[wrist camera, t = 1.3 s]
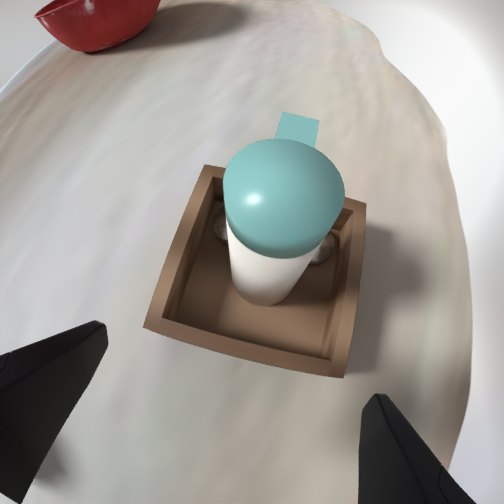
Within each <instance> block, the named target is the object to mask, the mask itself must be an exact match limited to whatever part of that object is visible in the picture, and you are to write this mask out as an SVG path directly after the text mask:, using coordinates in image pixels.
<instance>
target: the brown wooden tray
mask: <svg viewBox="0 0 504 504" xmlns="http://www.w3.org/2000/svg"><path fill="white" fill-rule="evenodd" d="M225 170H226V168H222V167H216V166H211V165H206V164H205V165H204V167H203V169H202V171H201V174H200V176H199V178H198V181H197V183H196V185H195V187H194V190H193V192H192V194H191V197H190V199H189V202H188V204H187V206H186V209H185V211H184V214H183V216H182V219H181V221H180V224H179V226H178V229H177V231H176V234H175V236H174V239H173V242H172V244H171V247H170V249H169V252H168V255H167V257H166V260H165V263H164V266H163V268H162V271H161V274H160V277H159V280H158V283H157V285H156V288H155V291H154V294H153V297H152V300H151V303H150V306H149V309H148V312H147V316H146V319H145V322H144V325H143V328H146V329H148V330H151V331H153V332H156V333H158V334H161V335H164V336H167V337H170V338H173V339H176V340H179V341H182V342H185V343H189V344H192V345H195V346H198V347H202V348H205V349H209V350H212V351H216V352H219V353H223V354H226V355H230V356H234V357H238V358H242V359H246V360H250V361H254V362H258V363H262V364H266V365H271V366H275V367H280V368H285V369H289V370H294V371H299V372H305V373H310V374H315V375H321V376H328V377H336V378H344V373H345V369H346V364H347V359H348V354H349V349H350V344H351V338H352V333H353V327H354V321H355V315H356V308H357V301H358V294H359V286H360V278H361V269H362V259H363V249H364V236H365V222H366V203H363V202H360V201H356V200H353V199H350V198H346V197H345V199H344V204H343V207H342V210H341V212H340V214H339V216H338V217H337V219H336V221H335V222H334V224H333V226H332V227H331V229H330V230H329V231H330V232H331V234H332V236H333V238H334V242H335V246H334V250H333V252H332V254H331V255H330V257H329V258H328V259H327V260H326V261H325V262H324V263H323V264H321V265H318V266H309V265H307V267H306V269H305V270H304V272H303V273H302V275H301V276H300V278H299V279H298V281H297V282H296V284H295V285H294V287H293V288H292V290H291V291H290V293H289V294H288V296H287V297H286V298H285V299H284V300H282V301H281V302H279V303H277V304H274V305H271V306H256V305H253V304H251V303H248V302H247V301H245V300H244V299H243V298H241V296H240V295H239V294H238V293H237V291H236V290H235V288H234V285H233V281H232V272H231V263H230V253H229V246H226V245H224V244H222V243H221V242H219V241H218V240H217V238H216V236H215V234H214V229H213V223H212V222H213V217H214V215H215V213H216V212H217V211H218V210H219V209H220V208H222V207H224V206H225V202H224V190H223V178H224V173H225Z"/></svg>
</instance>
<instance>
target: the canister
mask: <svg viewBox="0 0 504 504" xmlns="http://www.w3.org/2000/svg"><path fill="white" fill-rule="evenodd" d="M318 125H319V120H315V119H311V118H307V117H303V116H299V115H295V114H290V113H286V112H282V116H281V119H280V122H279V126H278V129H277V132H276V135H275V139H267V140H262V141H258V142H255V143H253V144H250V145H248V146H246V147H245V148H243V149H242V150H240V151H239V152H238V153H237V154H236V155H235V156H234V157H233V158H232V159H231V161H230V162H229V164H228V166H227V168H226V170H225V173H224V178H223V190H224V202H225V212H226V223H227V233H228V243H229V253H230V263H231V272H232V281H233V285H234V288H235V290H236V291H237V293H238V294H239V295H240V296H241V298H243V299H244V300H245V301H247V302H248V303H251V304H253V305H256V306H271V305H274V304H277V303H279V302H281V301H282V300H284V299H285V298H286V297H287V296H288V294H289V293H290V291H291V290H292V288H293V287H294V285H295V284H296V282H297V281H298V279H299V278H300V276H301V275H302V273H303V272H304V270H305V269H306V267H307V265H308V264H309V262H310V261H311V259H312V258H313V256H314V255H315V253H316V251H317V250H318V248H319V247H320V245H321V243H322V242H323V240H324V239H325V237H326V235H327V234H328V232H329V230H330V229H331V227H332V226H333V224H334V222H335V221H336V219H337V217H338V216H339V214H340V212H341V210H342V207H343V204H344V199H345V190H344V184H343V181H342V178H341V176H340V173H339V172H338V170H337V168H336V167H335V166H334V164H333V163H332V162H331V161H330V160H329V159H328V158H327V157H326V156H325V155H324V154H322V153H321V152H320V151H318V150H317V149H315V144H316V138H317V131H318Z"/></svg>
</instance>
